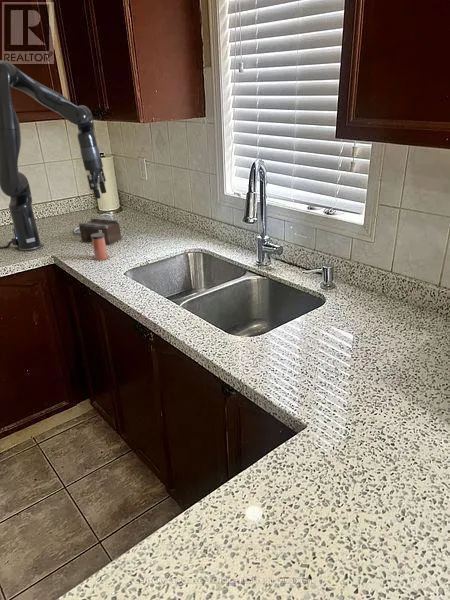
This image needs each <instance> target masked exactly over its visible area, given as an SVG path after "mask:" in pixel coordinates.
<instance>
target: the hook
mask: <svg viewBox="0 0 450 600" xmlns="http://www.w3.org/2000/svg"><path fill="white" fill-rule="evenodd" d="M100 216H108V217H109V218H110V220H114V218H113V216H112V215H111V214H110V213H102V214H100ZM77 230H80V228H79V226H78V227H76V228H75V229H73V232H74V235H75V234H76V235H81V233H80V231H78V232H77Z"/></svg>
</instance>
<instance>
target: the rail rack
mask: <svg viewBox="0 0 450 600" xmlns="http://www.w3.org/2000/svg"><path fill="white" fill-rule="evenodd" d="M78 227H79V228H80V229H79V232H80V233H81V234H80V237H81V242H85V243H86V242H89V241H92V238H91V235H92V234H95V233H100V231H101V233H104V235H105V237H104V238H105V244H106V245H108V246H109V245H111V244H113V243H115V242H118V241H120V240H122V233H121V232H122V231H121V226H120V220H116V219H113V220H111V219H108V218H107V219H106V218H96V217H91V218H90V221H87V222H78Z"/></svg>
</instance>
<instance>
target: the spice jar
mask: <svg viewBox="0 0 450 600" xmlns="http://www.w3.org/2000/svg"><path fill="white" fill-rule="evenodd" d="M104 237H105V235H104V233H102V232H99V233H95V234H92V235H91V238H92V240H91V242H92V248H93V253H94V259H95V260H96V261H103V260H106V259H108V250H107V244H105V238H104Z"/></svg>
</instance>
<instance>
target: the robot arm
mask: <svg viewBox="0 0 450 600" xmlns="http://www.w3.org/2000/svg"><path fill="white" fill-rule="evenodd" d="M11 88H13V89H15V90H18V91H21V92H23V93H25V94H27V96H30V97H31V98H33V99H34V100H35V101H36V102H37V103H39V104H40V105H42V106H44V107H46V108H47V109H49V110H51V111H53V112H55V113H56V114H59V115H60V116H61V117H63V118H64V119H65V120H67V121H68V122H70V123H71V124H73V125H76V126H77V135H76V137H77V141H78V145H79V150H80V151H79V152H80V156H81V160H82V164H83V167H84V170H85V171H87V172H89V174H87V175H86V177H87V182H88V185H89V189H90V190H91V191H93V195H94V198H95V200H97V199H101V194H106V193H107V188H106V181H107V179H106V176H105V172H104V168H103V167H104V164H103V160H102V157H101V153H100V149H99V147H98V143H97V139H96V135H95V127H94V125H95V124H94V118H93V114H92V111H91V110H90V108H89V107H88V106H86V105H84V104H80V105H76V104H74V103H73V102H71V101H69V99H68V98H67V97H66V96H65V95H63V94H61V93H59V92H57V91H56V90H54V89H52V88H50V87H48V86H46V85H44V84H43V83H40V82H39V81H37V80H35V79H33V78H32V77H31V76H28V75H27V74H26V73H25V72H23V71H22V70H20V69H19V68H18V67H16V66H15V65H14V64H13V63H11V62H10V61H7V60H1V59H0V190H1V192H2V193H3V194H4V195H6V196H7V197H9V199H10V200H9V204H8V210H9V214H10V217H11V221H12V225H13V227H12V230H13V235H14V237H13V238H11V240H10V241H9V242H8V243H7V245H5V246H0V250H1V249H3V250H4V249H7V248H9V247H10V246H11V244H12V245H13V246H17V249H19V250H20V251H23V252H24V251H33V250H37V249H40V248H41V247H42V243H41V240H40V235H39V230H38V226H37V222H36V219H35V218H36V217H35V214H34V209H33V198H32V192H31V186H30V183H29V179H28V178H27V177H26V175H25V174H23V173H22V172H20V171H19V156H20V150H21V148H22V147H21V145H22V135H21V125H20V121H19V118H18V115H17V112H16V110H15V108H14V105H13V101H12V94H11V93H12V91H11Z"/></svg>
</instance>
